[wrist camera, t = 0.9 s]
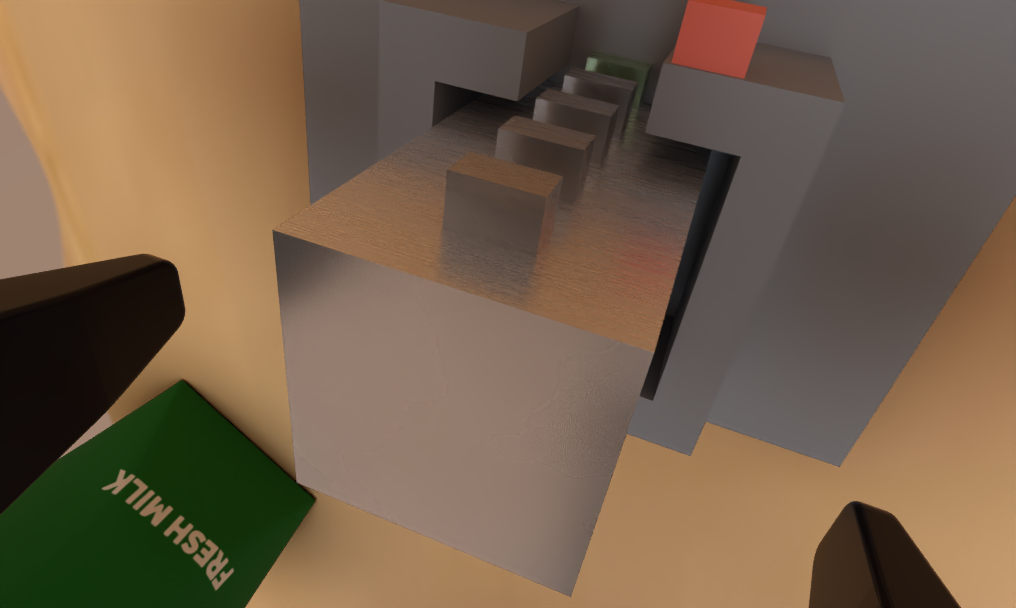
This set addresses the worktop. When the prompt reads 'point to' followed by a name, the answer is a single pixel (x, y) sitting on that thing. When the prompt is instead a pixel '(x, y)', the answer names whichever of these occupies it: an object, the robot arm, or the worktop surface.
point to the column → (489, 316)
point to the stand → (735, 172)
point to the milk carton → (151, 516)
